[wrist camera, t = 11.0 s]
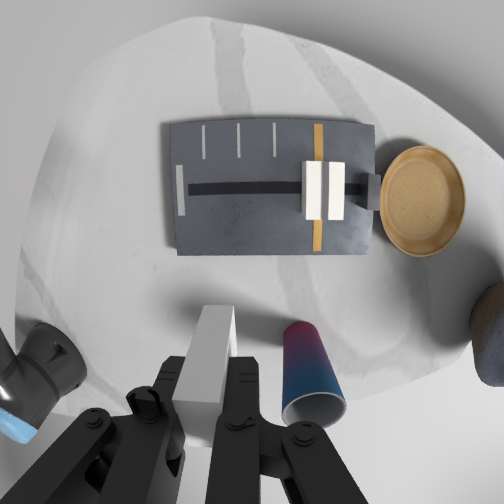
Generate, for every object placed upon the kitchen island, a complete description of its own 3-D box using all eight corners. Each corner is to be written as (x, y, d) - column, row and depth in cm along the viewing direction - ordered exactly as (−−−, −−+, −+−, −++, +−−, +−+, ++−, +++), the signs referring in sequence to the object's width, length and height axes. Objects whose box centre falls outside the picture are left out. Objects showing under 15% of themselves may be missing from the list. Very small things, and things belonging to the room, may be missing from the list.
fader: (301, 214, 32) (306, 220, 28) (301, 161, 30) (306, 160, 26) (335, 214, 31) (343, 220, 28) (336, 162, 30) (345, 162, 26)
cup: (276, 317, 38) (281, 395, 24) (325, 314, 38) (351, 388, 23) (277, 355, 40) (281, 433, 26) (322, 352, 40) (341, 427, 25)
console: (181, 250, 36) (170, 263, 31) (175, 126, 31) (161, 121, 26) (364, 249, 35) (378, 262, 30) (368, 127, 30) (384, 121, 25)
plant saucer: (469, 197, 32) (479, 199, 29) (416, 271, 36) (425, 277, 33) (411, 124, 30) (421, 122, 27) (350, 205, 33) (356, 208, 31)
